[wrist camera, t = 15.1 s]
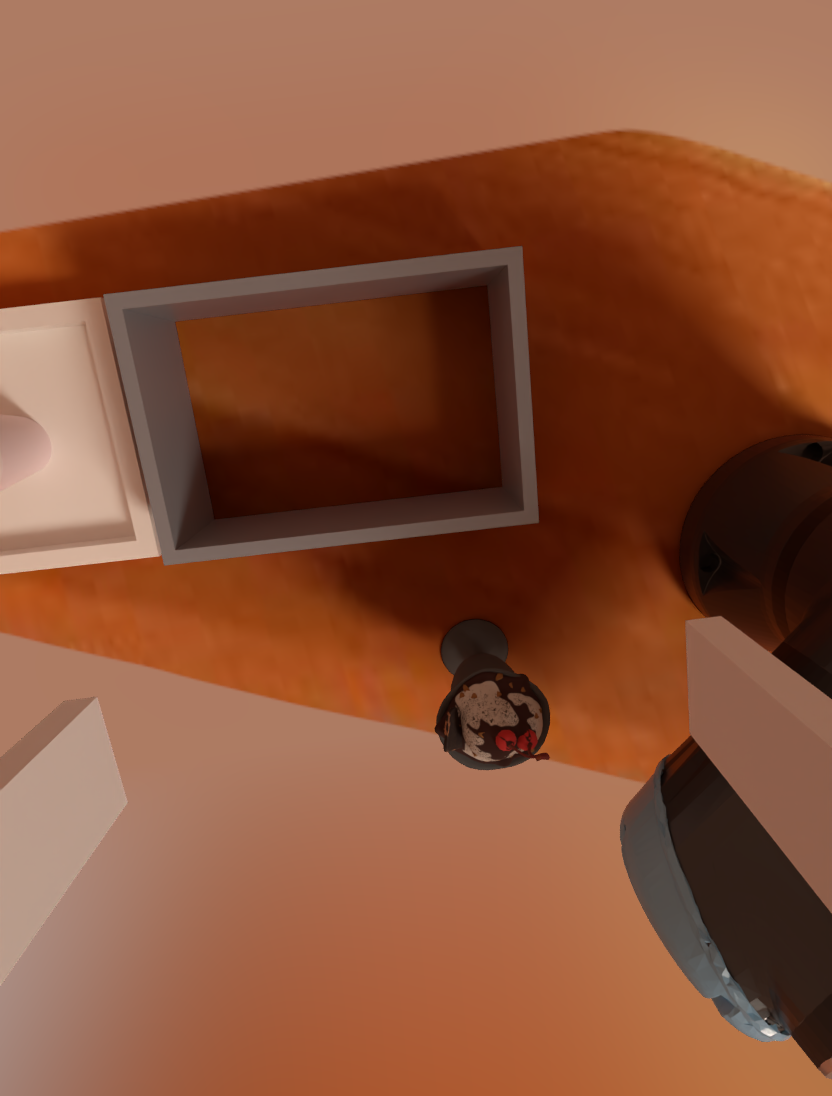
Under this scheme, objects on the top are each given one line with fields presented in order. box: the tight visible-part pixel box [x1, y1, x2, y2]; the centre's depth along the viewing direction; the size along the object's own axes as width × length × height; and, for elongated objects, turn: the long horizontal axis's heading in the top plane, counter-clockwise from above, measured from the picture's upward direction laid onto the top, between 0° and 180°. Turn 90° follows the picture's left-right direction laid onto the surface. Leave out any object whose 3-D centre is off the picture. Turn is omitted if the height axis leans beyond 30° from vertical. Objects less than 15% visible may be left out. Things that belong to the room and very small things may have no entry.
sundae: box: [435, 619, 550, 770], centre depth 40 cm, size 7×7×15 cm
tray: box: [0, 297, 162, 574], centre depth 41 cm, size 16×16×3 cm
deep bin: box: [103, 246, 539, 565], centre depth 38 cm, size 22×15×8 cm
